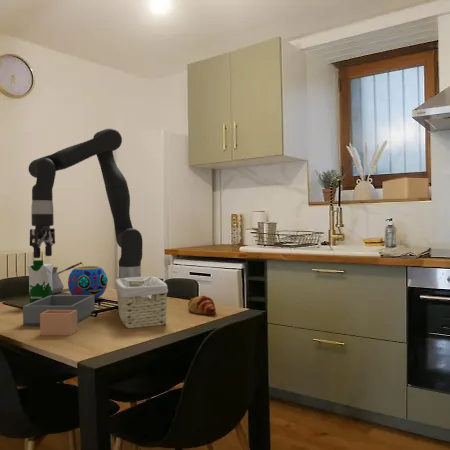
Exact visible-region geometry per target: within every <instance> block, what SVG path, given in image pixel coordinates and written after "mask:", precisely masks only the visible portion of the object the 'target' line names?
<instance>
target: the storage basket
mask: <svg viewBox="0 0 450 450" xmlns="http://www.w3.org/2000/svg"><path fill="white" fill-rule="evenodd" d="M114 284H115V289H116V294H117V305H118V306H117V307H118V315H119V318H120V320H121V322H122V323H123V325H124V326H125V327H126V328H127V329H134V328H137V329H138V328H146V327H147V328H148V327H155V326H156V327H159V326H163V325H166V324H167V307H168V305H167V300H168V299H167V295H168V292H169V289H168V284H167V283H166V282H165V281H163V280H161V279H160V278H159V277H157V276H154V275H152V276H141V277H132V278H119V277H118V278H115V283H114ZM131 284H132V285H133V284H142V286H141V287H130V285H131Z"/></svg>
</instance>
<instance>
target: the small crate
mask: <svg viewBox="0 0 450 450" xmlns="http://www.w3.org/2000/svg"><path fill="white" fill-rule="evenodd" d="M39 327H40V328H39V329H40V330H39V331H40V333H39V334H40V336H72V335H73V334H74V333H76V332H77V331H78V323H77V310H47V311H45V312H43V313H41V314H40V326H39Z"/></svg>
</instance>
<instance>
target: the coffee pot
mask: <svg viewBox="0 0 450 450" xmlns="http://www.w3.org/2000/svg"><path fill="white" fill-rule="evenodd" d="M80 265H82V266H84V264H83V262H82V261H81V262H78V263H77V262H76V264H73V265H70V266H69V267H66V268H65V269H62V270H61V271H58V269H59V267H57V266H53V270H52V290H53V295H56V294H55V293H57V294H60V293H59V292H62V291H63V289H64V288H65V287H64V284H63V282H62V280H61V278H60V274H63V273H64V272H66V271H70V270H71V269H72V270H73V269H74V268H76V267H80Z"/></svg>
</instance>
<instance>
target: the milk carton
mask: <svg viewBox="0 0 450 450" xmlns="http://www.w3.org/2000/svg"><path fill="white" fill-rule="evenodd" d="M53 267H54V264H53V263H44V259H43V260H42V259H35V260H32V264H30V265H27V271H28V281H29V282H28V285H29V286H28V289H29V290H28V292H29V299H28V300H29V304H30V303H32V302H35V301H37V300H40V299H42V298H45V297H47V296H50V295H54V294H53V290H52V270H53Z"/></svg>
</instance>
